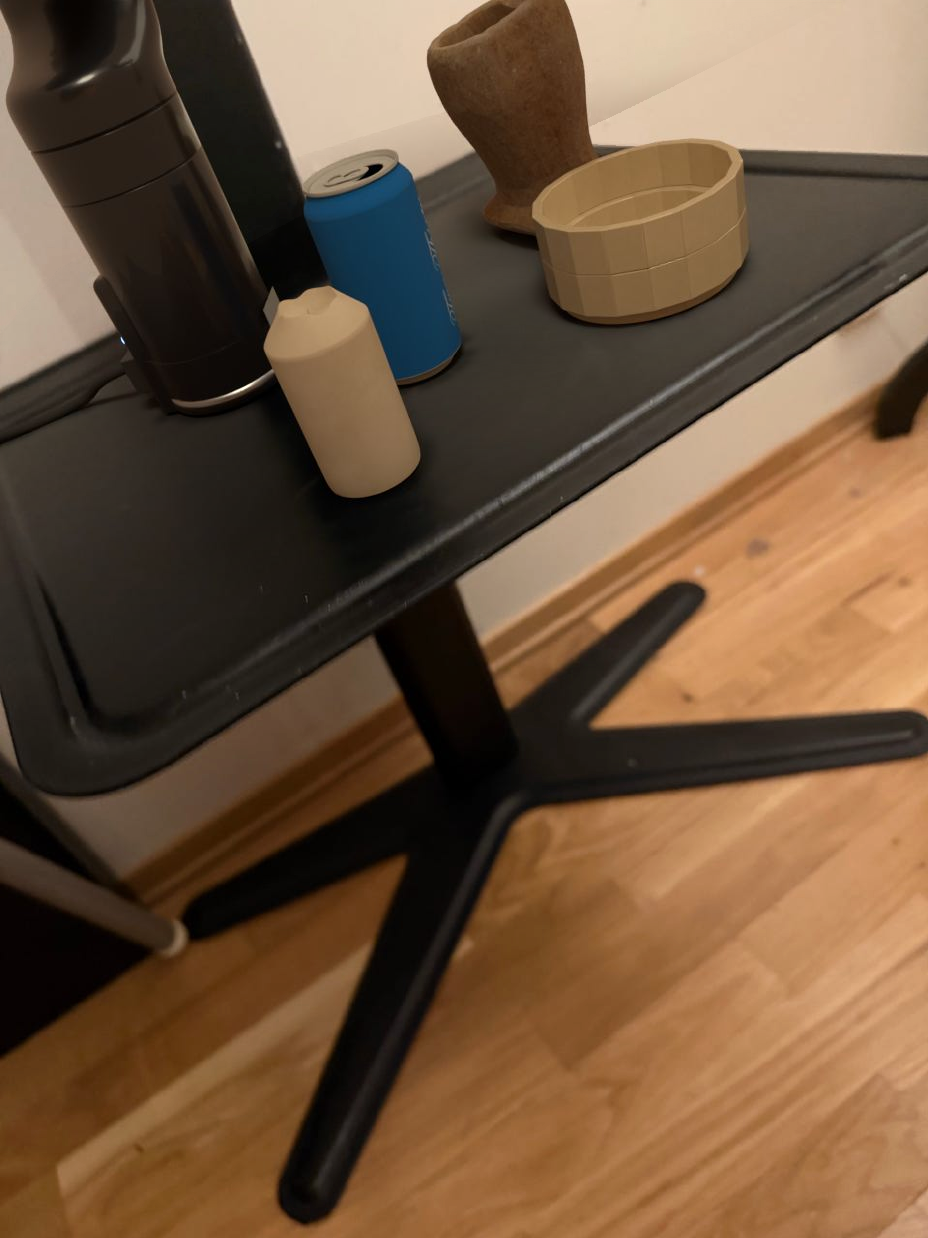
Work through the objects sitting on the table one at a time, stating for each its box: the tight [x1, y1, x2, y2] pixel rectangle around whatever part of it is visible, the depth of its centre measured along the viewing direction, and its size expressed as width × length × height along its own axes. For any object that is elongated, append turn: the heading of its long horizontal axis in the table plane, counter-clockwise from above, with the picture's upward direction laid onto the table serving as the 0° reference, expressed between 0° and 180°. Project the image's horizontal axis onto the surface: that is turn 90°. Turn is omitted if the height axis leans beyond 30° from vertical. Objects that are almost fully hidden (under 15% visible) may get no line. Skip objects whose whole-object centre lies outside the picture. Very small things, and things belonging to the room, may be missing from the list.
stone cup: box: [426, 0, 600, 237], centre depth 62 cm, size 15×12×15 cm
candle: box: [264, 285, 421, 499], centre depth 46 cm, size 6×6×10 cm
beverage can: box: [301, 148, 463, 386], centre depth 53 cm, size 6×6×12 cm
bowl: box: [532, 137, 750, 325], centre depth 55 cm, size 12×12×6 cm
